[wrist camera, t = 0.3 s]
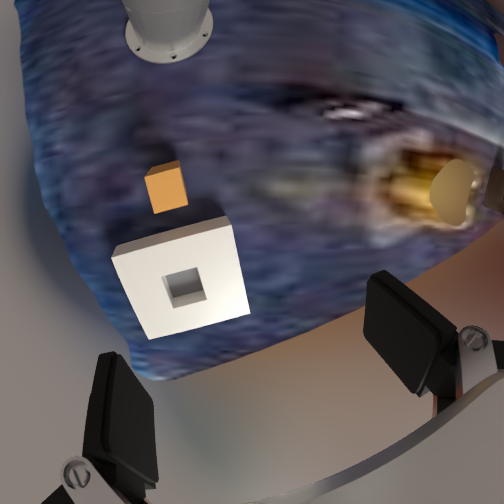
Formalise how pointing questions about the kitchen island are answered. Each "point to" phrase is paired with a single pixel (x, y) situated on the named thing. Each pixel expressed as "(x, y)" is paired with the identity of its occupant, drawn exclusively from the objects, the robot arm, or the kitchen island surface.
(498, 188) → the clothes iron
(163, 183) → the plug
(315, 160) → the kitchen island surface
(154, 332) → the socket block
